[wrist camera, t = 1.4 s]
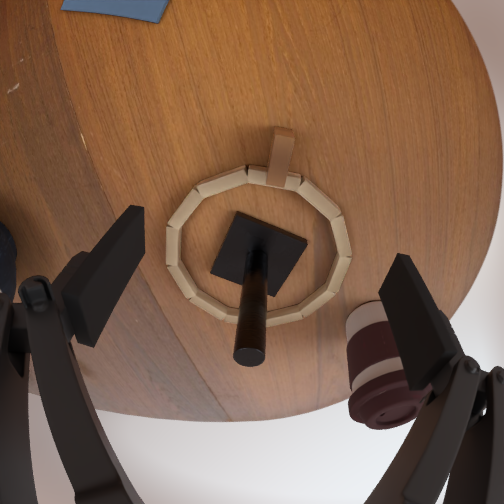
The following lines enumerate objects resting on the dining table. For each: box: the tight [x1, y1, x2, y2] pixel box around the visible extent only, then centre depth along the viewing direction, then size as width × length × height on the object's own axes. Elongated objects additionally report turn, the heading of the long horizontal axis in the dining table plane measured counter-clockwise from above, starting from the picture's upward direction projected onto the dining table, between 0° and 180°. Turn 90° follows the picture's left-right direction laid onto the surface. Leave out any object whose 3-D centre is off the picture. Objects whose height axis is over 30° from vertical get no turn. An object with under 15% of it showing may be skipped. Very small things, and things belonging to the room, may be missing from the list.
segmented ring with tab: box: [166, 126, 352, 328], centre depth 31 cm, size 24×20×4 cm
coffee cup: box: [346, 301, 432, 430], centre depth 32 cm, size 10×10×15 cm
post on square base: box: [210, 211, 308, 367], centre depth 28 cm, size 8×8×14 cm
